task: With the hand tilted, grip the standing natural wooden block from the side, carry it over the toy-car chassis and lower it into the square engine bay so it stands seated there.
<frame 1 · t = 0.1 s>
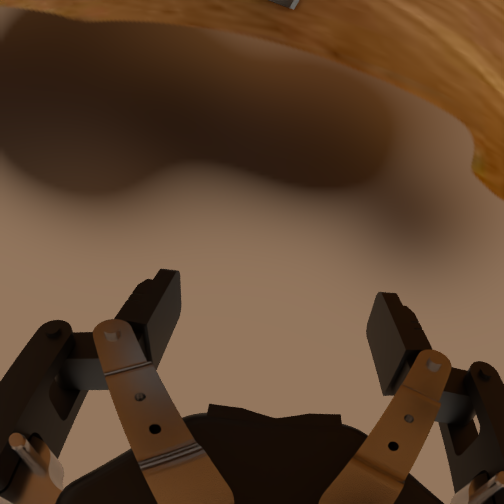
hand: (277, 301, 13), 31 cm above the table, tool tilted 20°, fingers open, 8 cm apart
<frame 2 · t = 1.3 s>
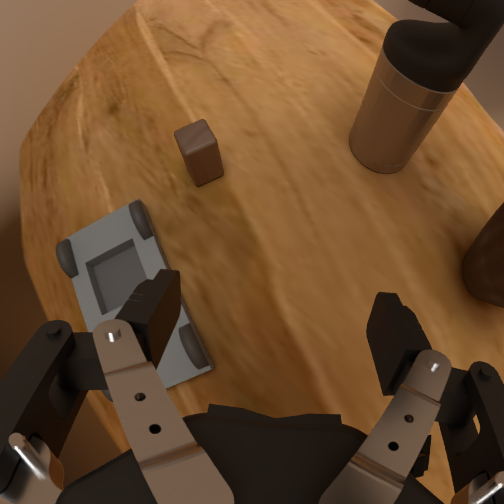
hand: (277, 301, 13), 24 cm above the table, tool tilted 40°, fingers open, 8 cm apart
chassis: (132, 302, 37), on the table
wooden block: (205, 171, 42), on the table
black block: (396, 457, 32), on the table
plant pot: (479, 274, 37), on the table
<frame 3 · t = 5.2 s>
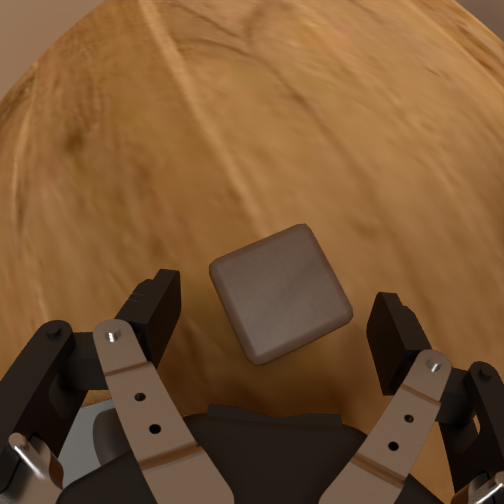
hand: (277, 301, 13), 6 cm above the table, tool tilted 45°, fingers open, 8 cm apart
wooden block: (270, 320, 18), on the table
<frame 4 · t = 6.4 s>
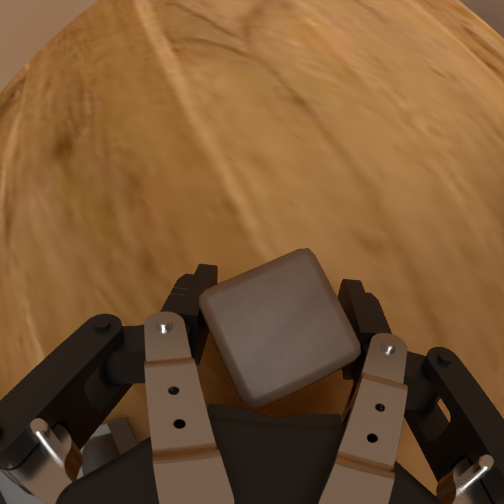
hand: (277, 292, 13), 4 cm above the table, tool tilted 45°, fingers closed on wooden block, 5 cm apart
wooden block: (268, 342, 17), on the table, touching gripper
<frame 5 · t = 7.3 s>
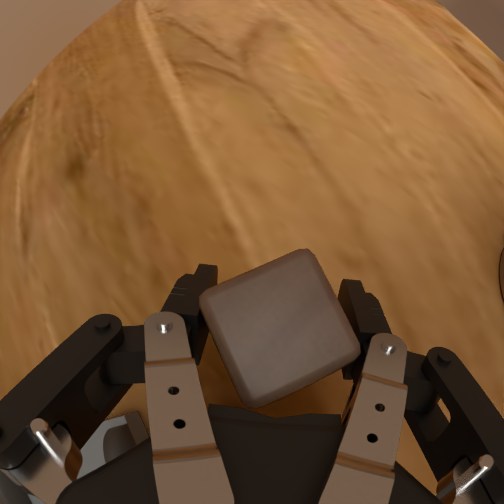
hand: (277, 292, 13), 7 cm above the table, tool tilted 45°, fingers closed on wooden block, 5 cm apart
wooden block: (268, 342, 17), point 3 cm above the table, touching gripper
when the fingers open (6 cm above the table, at t = 12.2 s): wooden block drops 1 cm, resting on chassis.
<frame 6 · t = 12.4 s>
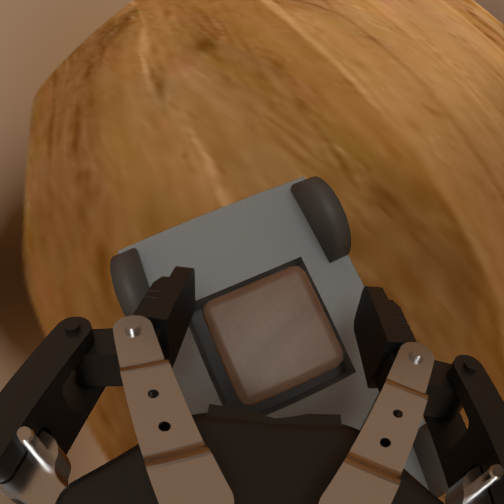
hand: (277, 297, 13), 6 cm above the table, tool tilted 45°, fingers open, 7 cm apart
chassis: (287, 389, 18), on the table
wooden block: (265, 345, 18), resting on chassis
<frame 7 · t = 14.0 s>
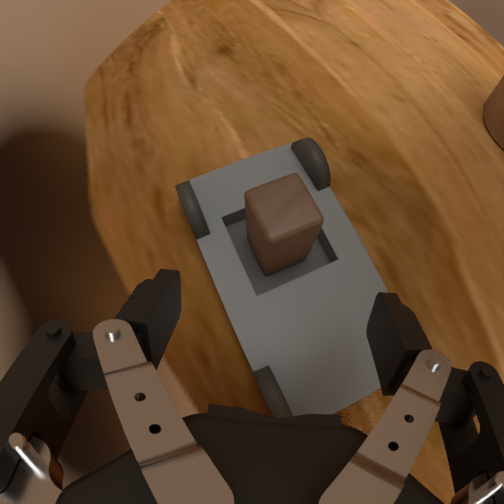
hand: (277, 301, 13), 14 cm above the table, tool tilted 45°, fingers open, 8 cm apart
chassis: (292, 279, 27), on the table
wooden block: (276, 248, 28), resting on chassis
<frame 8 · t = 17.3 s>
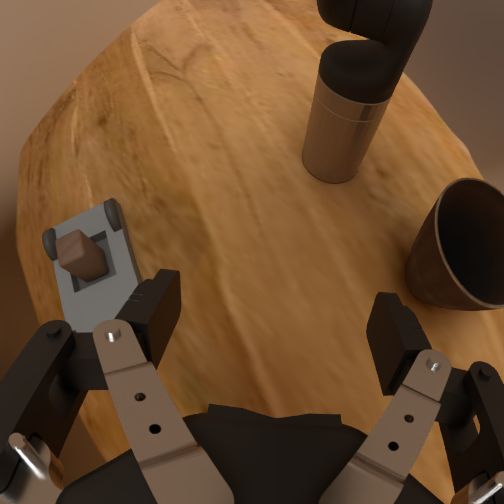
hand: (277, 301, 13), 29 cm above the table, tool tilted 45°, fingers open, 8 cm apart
chassis: (101, 285, 42), on the table
wooden block: (95, 266, 43), resting on chassis
plant pot: (424, 278, 43), on the table
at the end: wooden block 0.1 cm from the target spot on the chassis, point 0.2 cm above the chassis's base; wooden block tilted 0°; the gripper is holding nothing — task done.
